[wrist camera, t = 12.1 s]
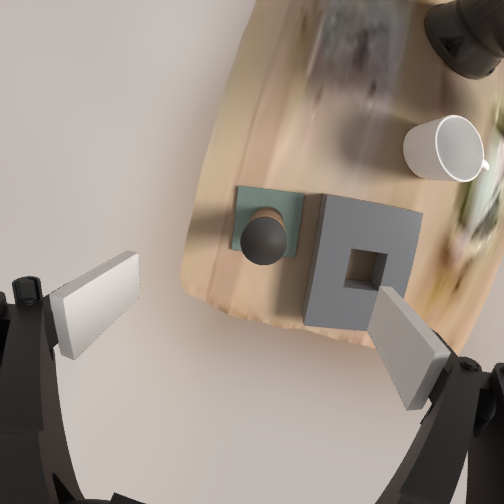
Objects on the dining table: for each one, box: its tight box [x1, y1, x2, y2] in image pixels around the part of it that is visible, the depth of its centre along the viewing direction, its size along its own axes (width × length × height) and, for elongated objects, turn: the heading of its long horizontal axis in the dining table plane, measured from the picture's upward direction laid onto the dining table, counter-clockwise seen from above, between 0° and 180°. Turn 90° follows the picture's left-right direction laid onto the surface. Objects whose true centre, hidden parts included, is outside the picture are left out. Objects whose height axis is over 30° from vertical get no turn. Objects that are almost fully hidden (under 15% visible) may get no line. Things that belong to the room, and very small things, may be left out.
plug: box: [240, 206, 287, 265], centre depth 34 cm, size 4×4×13 cm
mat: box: [232, 186, 304, 258], centre depth 40 cm, size 9×9×1 cm
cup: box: [403, 115, 489, 182], centre depth 31 cm, size 8×12×10 cm
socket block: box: [302, 193, 423, 331], centre depth 39 cm, size 18×14×4 cm
